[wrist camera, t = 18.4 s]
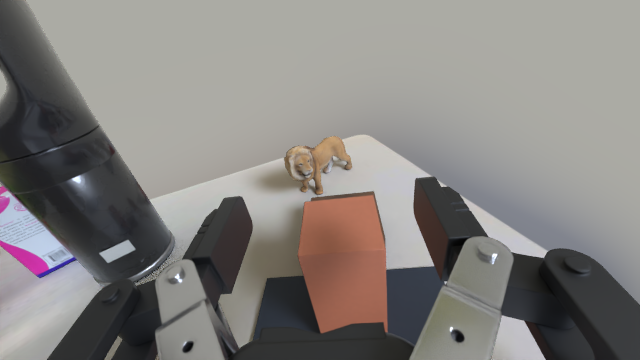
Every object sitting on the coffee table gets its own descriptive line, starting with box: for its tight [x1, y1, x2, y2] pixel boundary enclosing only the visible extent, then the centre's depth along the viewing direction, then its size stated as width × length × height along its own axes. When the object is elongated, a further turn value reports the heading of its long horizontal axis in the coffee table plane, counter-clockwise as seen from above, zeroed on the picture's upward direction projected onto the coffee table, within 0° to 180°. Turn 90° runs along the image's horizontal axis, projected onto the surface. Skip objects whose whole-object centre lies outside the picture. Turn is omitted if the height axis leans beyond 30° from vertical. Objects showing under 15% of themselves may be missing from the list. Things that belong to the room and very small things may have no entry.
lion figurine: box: [284, 136, 352, 195], centre depth 41 cm, size 15×5×9 cm, turn 148°
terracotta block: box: [298, 195, 388, 333], centre depth 21 cm, size 5×5×11 cm
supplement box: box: [0, 186, 76, 278], centre depth 35 cm, size 6×6×12 cm
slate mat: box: [253, 266, 445, 345], centre depth 22 cm, size 18×13×1 cm
